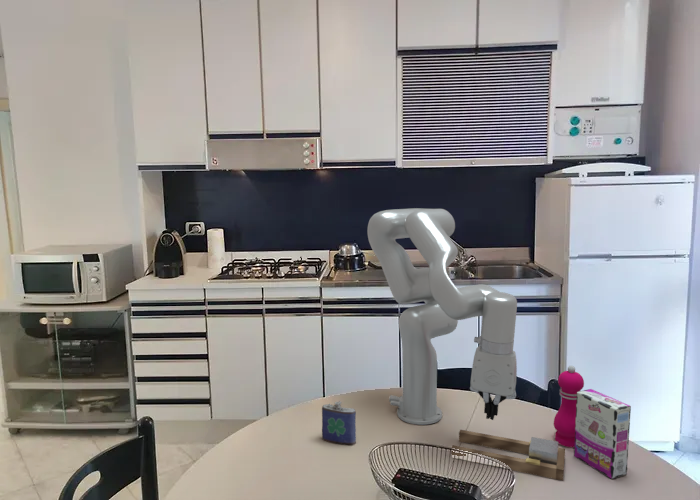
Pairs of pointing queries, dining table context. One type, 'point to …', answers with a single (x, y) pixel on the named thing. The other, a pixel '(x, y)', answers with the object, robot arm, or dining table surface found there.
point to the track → (515, 446)
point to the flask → (338, 424)
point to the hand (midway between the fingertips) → (490, 416)
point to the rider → (543, 450)
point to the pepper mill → (567, 406)
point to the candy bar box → (602, 432)
